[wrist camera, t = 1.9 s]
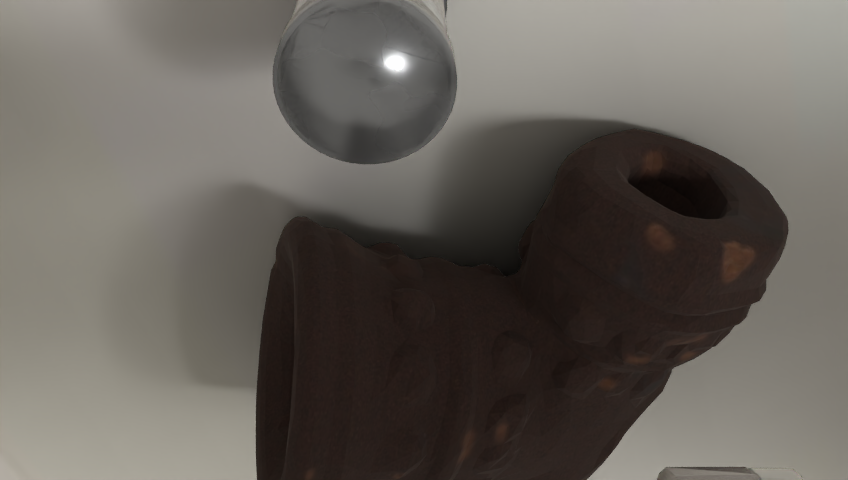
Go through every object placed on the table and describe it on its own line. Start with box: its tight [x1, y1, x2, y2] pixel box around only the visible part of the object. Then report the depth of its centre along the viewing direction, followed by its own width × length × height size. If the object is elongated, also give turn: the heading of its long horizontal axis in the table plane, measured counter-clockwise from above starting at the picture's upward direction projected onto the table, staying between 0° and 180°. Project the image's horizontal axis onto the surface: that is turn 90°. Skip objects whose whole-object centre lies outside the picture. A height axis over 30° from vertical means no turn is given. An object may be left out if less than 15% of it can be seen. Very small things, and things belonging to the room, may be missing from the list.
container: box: [273, 0, 457, 164], centre depth 21 cm, size 4×4×7 cm
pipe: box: [256, 129, 788, 480], centre depth 28 cm, size 10×15×15 cm
